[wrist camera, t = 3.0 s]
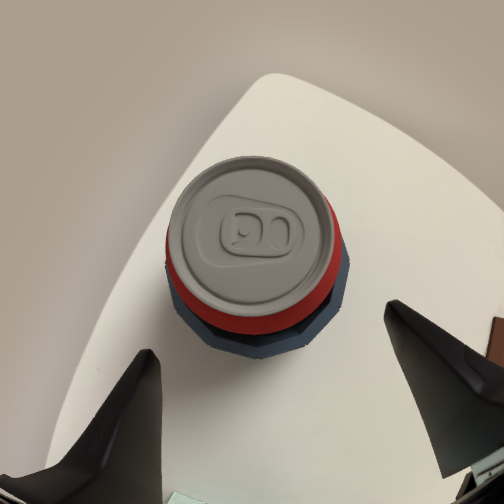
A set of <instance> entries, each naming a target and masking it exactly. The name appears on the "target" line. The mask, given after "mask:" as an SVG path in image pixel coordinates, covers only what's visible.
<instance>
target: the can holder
mask: <svg viewBox="0 0 504 504" xmlns="http://www.w3.org/2000/svg"><path fill="white" fill-rule="evenodd" d="M340 233H341V232H340ZM341 240H342V255H341V262H340V267H339V271H338V274H337V277H336V280H335V282H334V284H333V286H332V288H331V290H330V292H329V293H328V295H327V296H326V298H325V299H324V300H323V302H322V303H321V304H320V305H319V306H318V307H317V308H316V309H315V310H314V311H313V312H312V313H311V314H309V315H308V316H307V317H306V318H304V319H303V320H301V321H300V322H298V323H296V324H294V325H293V326H292V327H291V328H289V329H285V330H282V331H279V332H275V333H272V334H268V335H264V336H261V337H258V336H254V335H251V334H239V333H234V332H230V331H226V330H223V329H221V328H218V327H216V326H214V325H212V324H210V323H208V322H206V321H205V320H203V319H202V318H200V317H199V316H198V315H197V314H195V313H194V312H193V311H192V310H191V309H190V308H189V307H188V306H187V305H186V304H185V302H184V301H183V300H182V298H181V297H180V296H179V294H178V292H177V291H176V289H175V287H174V285H173V283H172V280H171V278H170V275H169V271H168V267H167V262H166V261H165V264H166V265H165V269H166V274H167V278H168V283H169V287H170V291H171V296H172V300H173V304H174V308H175V310H177V311H176V312H177V314H178V315H179V316H180V317H181V318H182V319H183V320H184V321H185V322H186V323H187V324H188V325H189V326H190V328H191V329H192V330H193V331H194V332H195V333H196V334H197V335H198V336H199V337H200V338H201V339H202V340H203V341H204V342H205V343H206V344H207V345H210V347H212V348H215V349H219V350H222V351H226V352H229V353H233V354H237V355H240V356H244V357H248V358H252V359H257V357H258V359H263V358H267V357H271V356H274V355H278V354H281V353H285V352H288V351H292V350H295V349H298V348H302V347H305V344H306V345H308V344H309V343H310V342H311V341H312V340H313V339H314V338H315V337H316V335H317V334H318V333H319V332H320V331H321V330H322V329H323V328H324V327H325V326H326V325H327V324H328V323H329V321H330V320H331V319H332V318H333V317H334V316H335V315H336V314H337V313H338V311H339V308H341V304H342V300H343V295H344V291H345V286H346V281H347V276H348V271H349V266H350V262H348V261H350V259H349V256H348V253H347V250H346V247H345V244H344V241H343V238H342V235H341Z"/></svg>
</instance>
